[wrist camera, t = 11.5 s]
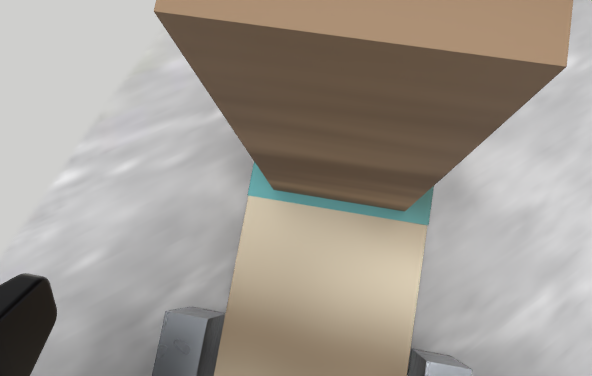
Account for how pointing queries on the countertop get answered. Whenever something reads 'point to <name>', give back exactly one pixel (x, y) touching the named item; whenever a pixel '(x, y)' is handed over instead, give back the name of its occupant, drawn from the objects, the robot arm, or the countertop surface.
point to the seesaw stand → (206, 339)
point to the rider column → (368, 83)
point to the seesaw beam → (322, 286)
